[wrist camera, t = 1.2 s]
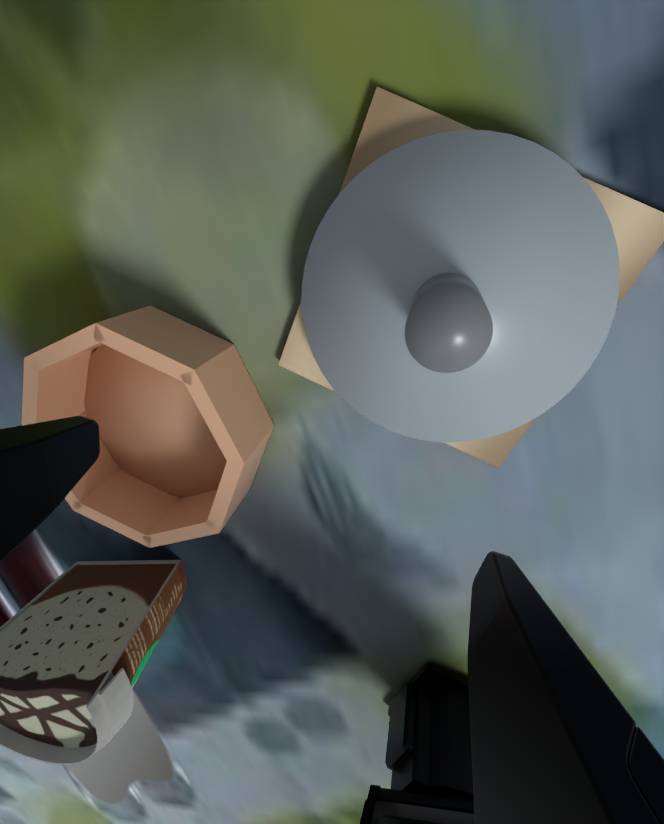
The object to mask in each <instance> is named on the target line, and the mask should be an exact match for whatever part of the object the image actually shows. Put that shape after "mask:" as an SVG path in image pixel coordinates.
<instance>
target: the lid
mask: <svg viewBox="0 0 664 824" xmlns="http://www.w3.org/2000/svg"><path fill="white" fill-rule="evenodd" d="M619 280H620V266H619V256H618V247H617V243H616V240H615V236H614V232H613V228H612V225H611V223H610V220H609V218H608V216H607V214H606V211H605V209H604V207H603V205H602V203H601V201H600V200H599V198H598V197H597V195H596V194H595V192H594V191H593V189H592V188H591V186H590V185H589V184H588V183H587V182H586V180H585V179H584V178H583V177H582V176H581V175H580V174H579V173H578V172H577V171H576V170H575V169H574V168H573V167H572V166H571V165H569V164H568V163H567V162H566V161H564V160H563V159H562V158H560V157H559V156H558V155H557V154H555V153H553V152H552V151H550V150H548V149H546V148H544V147H542V146H540V145H539V144H537V143H535V142H532V141H529V140H526V139H524V138H521V137H518V136H515V135H512V134H506V133H501V132H495V131H490V130H458V131H450V132H442V133H437V134H434V135H430V136H426V137H423V138H419V139H416V140H414V141H411V142H409V143H407V144H404V145H402V146H400V147H397V148H395V149H394V150H392V151H390V152H389V153H387V154H385V155H384V156H382V157H380V158H379V159H377V160H375V161H374V162H373V163H371V164H370V165H369V166H368V167H366V168H365V169H364V170H363V171H361V172H360V173H359V174H358V175H357V176H356V177H355V178H354V179H353V180H352V181H351V182H350V183H349V184H348V185H347V186H346V187H345V188H344V189H343V190H342V191H341V192H340V194H339V195H338V196H337V198H336V199H335V200H334V202H333V203H332V204H331V206H330V207H329V209H328V210H327V212H326V214H325V216H324V217H323V219H322V221H321V223H320V224H319V226H318V228H317V231H316V233H315V235H314V238H313V240H312V243H311V245H310V248H309V252H308V255H307V259H306V263H305V267H304V274H303V281H302V303H301V304H302V314H303V323H304V327H305V331H306V336H307V340H308V343H309V345H310V348H311V351H312V354H313V356H314V358H315V360H316V362H317V364H318V366H319V368H320V370H321V372H322V373H323V375H324V376H325V378H326V379H327V381H328V382H329V384H330V385H331V387H332V388H333V389H334V390H335V391H336V392H337V394H338V395H339V396H340V397H341V398H342V399H343V400H344V401H345V402H346V403H347V404H348V405H350V406H351V407H352V408H353V409H354V410H355V411H357V412H358V413H359V414H361V415H362V416H364V417H365V418H366V419H368V420H370V421H371V422H373V423H375V424H377V425H379V426H381V427H382V428H385V429H387V430H390V431H392V432H395V433H397V434H400V435H403V436H407V437H411V438H414V439H419V440H426V441H432V442H464V441H473V440H478V439H484V438H489V437H492V436H495V435H498V434H502V433H505V432H508V431H510V430H512V429H515V428H517V427H519V426H522V425H524V424H526V423H528V422H529V421H531V420H533V419H535V418H536V417H538V416H540V415H541V414H543V413H544V412H546V411H547V410H548V409H550V408H551V407H552V406H554V405H555V404H557V403H558V402H559V401H560V400H561V399H562V398H563V397H564V396H565V395H566V394H568V393H569V392H570V391H571V390H572V389H573V388H574V387H575V385H576V384H577V383H578V382H579V381H580V380H581V378H582V377H583V376H584V375H585V374H586V372H587V371H588V369H589V368H590V366H591V365H592V363H593V362H594V360H595V359H596V357H597V356H598V354H599V352H600V350H601V348H602V346H603V344H604V342H605V340H606V338H607V336H608V333H609V330H610V327H611V324H612V321H613V318H614V315H615V311H616V305H617V300H618V295H619Z"/></svg>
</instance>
